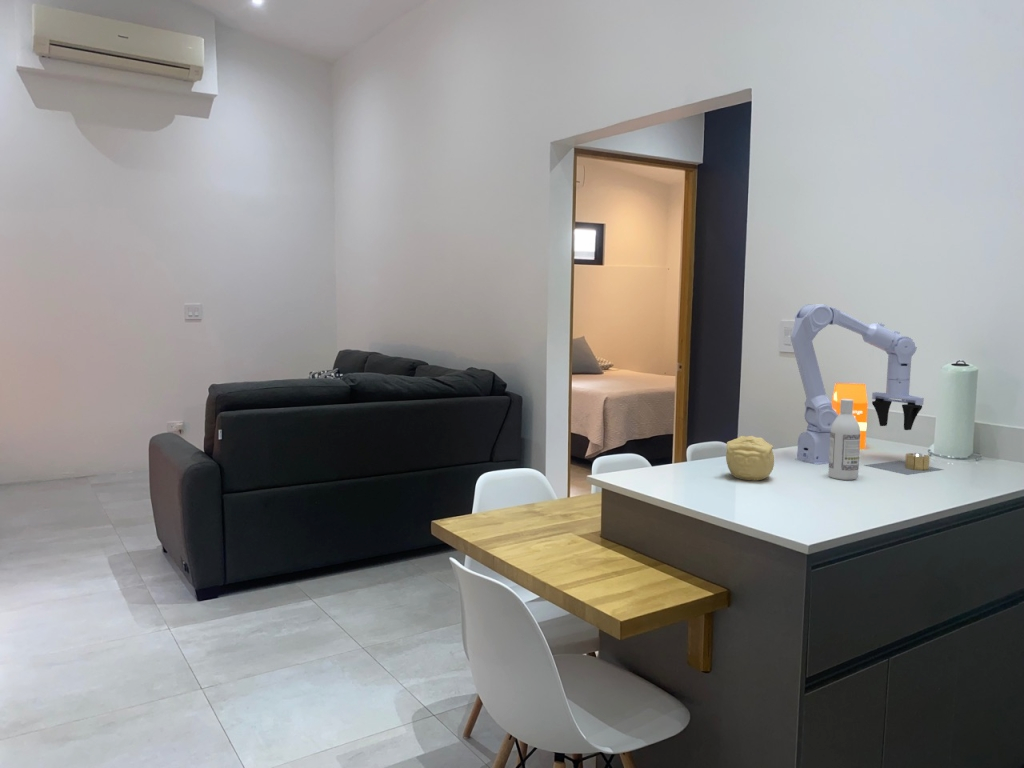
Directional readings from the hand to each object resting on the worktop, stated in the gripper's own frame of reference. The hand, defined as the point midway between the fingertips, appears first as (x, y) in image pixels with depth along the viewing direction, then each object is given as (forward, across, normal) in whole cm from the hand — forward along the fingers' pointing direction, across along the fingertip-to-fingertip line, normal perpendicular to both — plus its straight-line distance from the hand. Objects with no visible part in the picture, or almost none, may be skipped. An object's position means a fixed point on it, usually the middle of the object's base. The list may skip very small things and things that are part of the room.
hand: (895, 427), depth 209 cm
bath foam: (+10, -8, +29) cm, 32 cm away
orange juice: (+10, +22, -8) cm, 25 cm away
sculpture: (+10, +2, +51) cm, 52 cm away
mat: (+10, -7, +5) cm, 13 cm away
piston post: (+10, -9, +3) cm, 14 cm away
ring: (+10, -9, +3) cm, 14 cm away
